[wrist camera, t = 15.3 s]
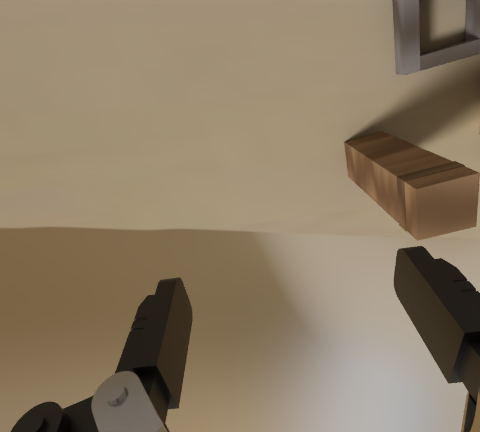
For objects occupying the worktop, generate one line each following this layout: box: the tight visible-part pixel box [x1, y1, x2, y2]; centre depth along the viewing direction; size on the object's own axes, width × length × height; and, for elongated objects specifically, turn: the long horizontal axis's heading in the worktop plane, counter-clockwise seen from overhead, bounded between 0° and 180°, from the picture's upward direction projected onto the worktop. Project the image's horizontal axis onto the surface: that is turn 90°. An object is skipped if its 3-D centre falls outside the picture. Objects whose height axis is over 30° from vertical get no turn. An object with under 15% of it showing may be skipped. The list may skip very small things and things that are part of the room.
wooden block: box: [344, 132, 480, 240], centre depth 27 cm, size 4×4×14 cm
